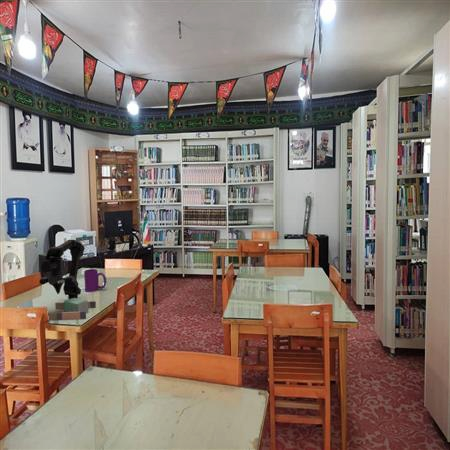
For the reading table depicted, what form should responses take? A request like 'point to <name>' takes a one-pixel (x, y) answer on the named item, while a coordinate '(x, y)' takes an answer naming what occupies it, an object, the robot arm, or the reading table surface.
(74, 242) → the robot arm
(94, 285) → the mug
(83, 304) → the box
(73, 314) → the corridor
